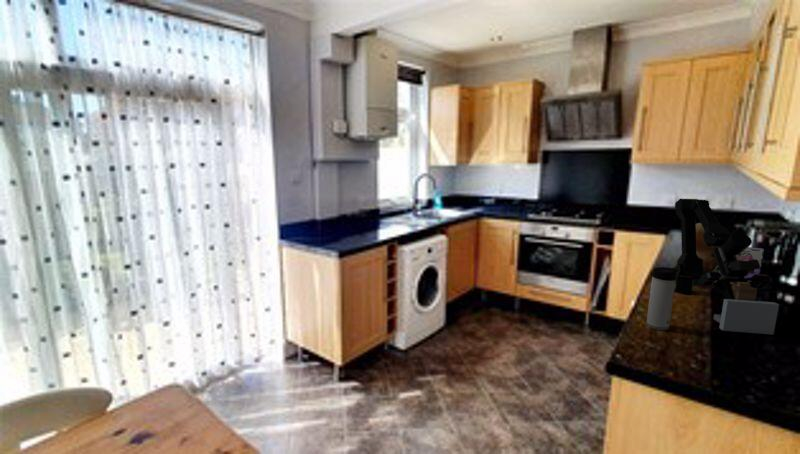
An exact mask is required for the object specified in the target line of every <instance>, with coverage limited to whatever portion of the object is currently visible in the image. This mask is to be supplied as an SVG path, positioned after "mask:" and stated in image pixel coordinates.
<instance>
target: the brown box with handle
mask: <svg viewBox="0 0 800 454" xmlns="http://www.w3.org/2000/svg"><path fill="white" fill-rule="evenodd" d="M730 287H731V290H732V292H733V295H734V298H735V300H747V301H757V294H758V289H756V288H753V287H751V286H750V283H746V282H737V283H730Z"/></svg>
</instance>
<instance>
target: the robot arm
mask: <svg viewBox="0 0 800 454" xmlns="http://www.w3.org/2000/svg"><path fill="white" fill-rule="evenodd" d="M674 208H675V212H676V216H677V217H678V218H679V219H680V227H681V228H680V229H681V230H680V233H681V255H680V256H679V257H678V259H677V261H676V265H675V266H674V267H673V268H676V269H678V272H676V277H675V278H676V281H675V288H674V293H680V294H683V295H686V296H689V295H694V294H696V293H697V291H696V290H695V291H694V290H693V287H694V283H695V280H697V281H698V282H699V283H700V286H703V287H704V286H705V287H711V288H712V289H715V290H716V291H718V292H719V293H720V294H721V295H723V296H724V297H725V299H732V300H735V298H734V295H733V292H732V290H731V287H730V283H731V284H737V282H746V283H750V286H751V287H753V288H756V289H757V290H762V289H765V288H766V287H768V286H769V285H770V284H771V283H773V280H772V278H771V276H770V275H768V274H761V273H760V274H755V275H753V276H752V277H751V278H745V277H744V276H745V275H748V274H749V273H748V272H749V271H755V270H756V269H759V268H760V264H759V262H758V260H755V259H751V260H748V261H742V260H739V261H738V259H737V257H736V255H739V254H741V253H742V252H743V251H744V250H745V249H746V248H748V247H750V246H751V245H752V243H753V240H752V238H751V237H750V236H748V235H747V234H745V233H743V232H742V231H741V230H738V229H734V230H732V231H730V230H729V229H728V228H727V227H725V226H723V225H722V224H720V222H719V220H718V219H717V217H716V215H715V213H714V211H713V210H712V208H711V207H710V202H709V200H708V199H698V198H679V199H678V200H676V201H675V203H674ZM697 218H698V221H699V223H701V224H702V226H703V228H704V231H705V232H704V235H703V237H704V241H705V243H706V245H707V246H712V247H717V248H716V249H715V250H713V252H712V253H711V257H715V259H716V262H717V264H718V266H717V267H716V268H715V269H716V271H711V272H709V271H707V272H706V273H703V260H702V258H699V257H698V256H697V253H696V224H697V221H696V220H697ZM719 271H720V273H719ZM712 284H713V285H712Z"/></svg>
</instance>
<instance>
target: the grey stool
mask: <svg viewBox="0 0 800 454" xmlns="http://www.w3.org/2000/svg"><path fill="white" fill-rule="evenodd" d="M779 306H780V304H779V303H776V302H772V301H771V302H770V301H759V300H756V301H747V300H732V299H727V298H723V303H722V309H721V310H722V311H721V314H718V313H717V314H716V313H714V315H713V320H714V321H716V322H717V323H719V328H718V329H720V330H721V331H724V332H736V333H737V332H738V333H748V334H749V333H750V334H762V335H772V336H773V335H774V334H775V329H776V324H777V319H778V318H777V317H778V314H779V313H778V312H779Z"/></svg>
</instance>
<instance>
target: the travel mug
mask: <svg viewBox="0 0 800 454" xmlns="http://www.w3.org/2000/svg"><path fill="white" fill-rule="evenodd" d="M676 272H678V269H676V268H674V267H664V266H663V267H654V268H653V271H652V276H651V285H650V292H649V300H648V306H647V314H646V315H647V316H646V326H647V327H649V328H651V329H653V330H657V331H668V330H669V329H670V324H671V319H672V318H671V316H672V308H673V301H674V295H675V291H674V288H676V281H677V278H675V277H676Z"/></svg>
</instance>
